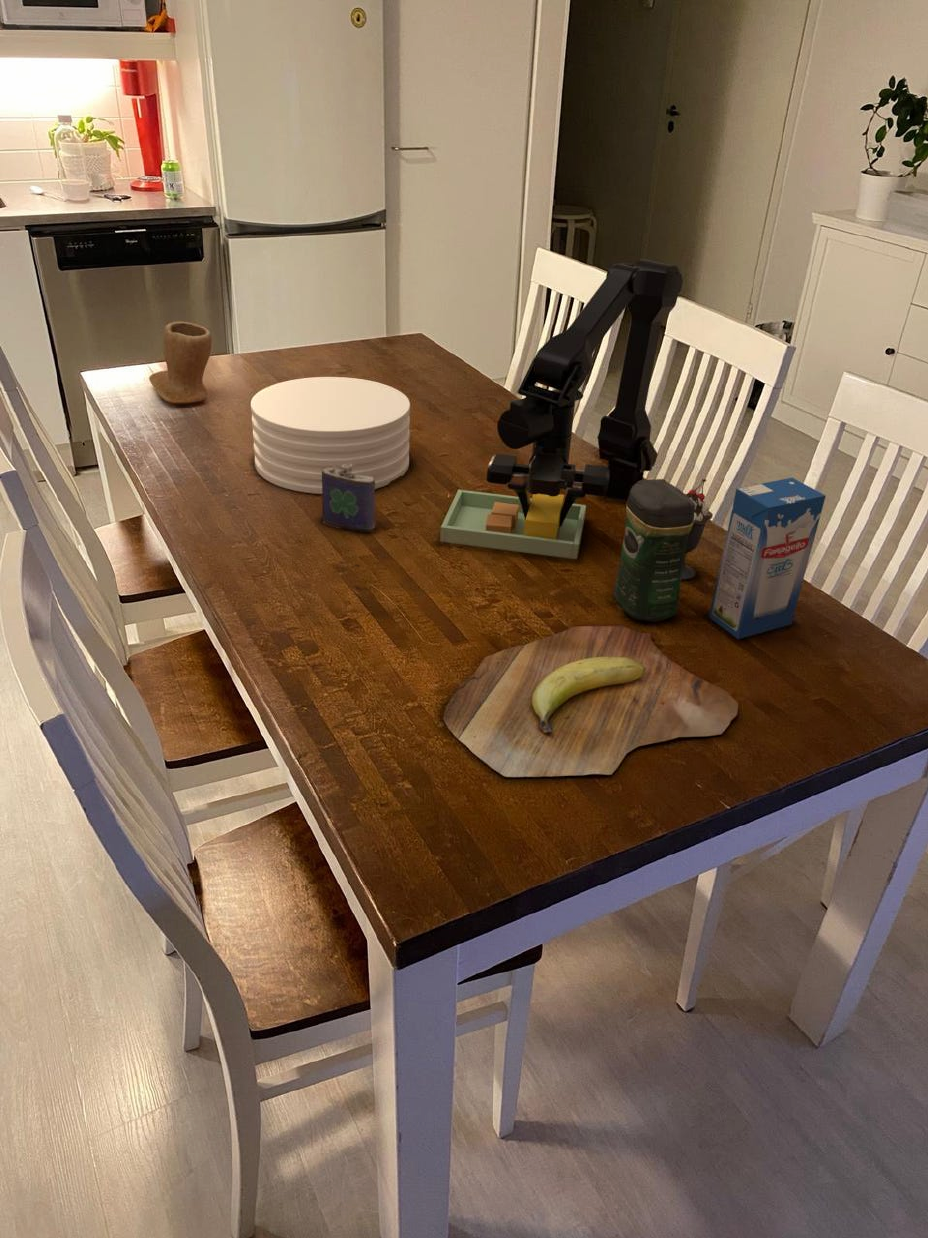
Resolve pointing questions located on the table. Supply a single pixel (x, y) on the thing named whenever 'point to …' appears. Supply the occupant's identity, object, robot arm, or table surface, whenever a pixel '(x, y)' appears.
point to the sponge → (544, 516)
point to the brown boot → (183, 363)
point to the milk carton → (765, 556)
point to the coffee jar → (653, 550)
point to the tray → (470, 528)
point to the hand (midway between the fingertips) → (543, 523)
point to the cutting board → (581, 703)
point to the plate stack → (329, 431)
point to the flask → (348, 499)
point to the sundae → (696, 527)
